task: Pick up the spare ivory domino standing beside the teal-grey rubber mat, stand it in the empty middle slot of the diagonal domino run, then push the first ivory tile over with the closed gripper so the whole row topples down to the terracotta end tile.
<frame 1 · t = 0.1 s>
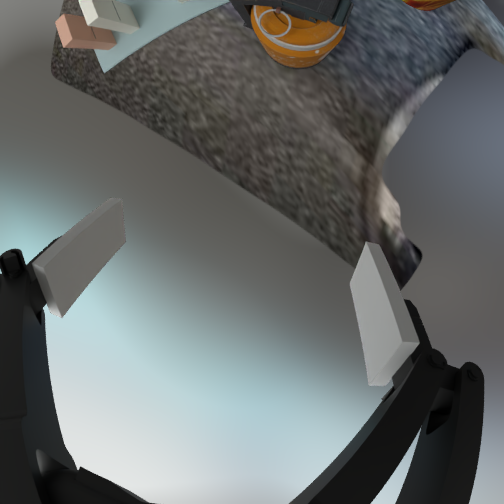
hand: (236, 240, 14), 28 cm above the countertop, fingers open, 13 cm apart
canister: (288, 38, 29), on the countertop
end domino: (107, 35, 29), resting on mat
domino d: (130, 19, 28), resting on mat
mat: (155, 4, 27), on the countertop
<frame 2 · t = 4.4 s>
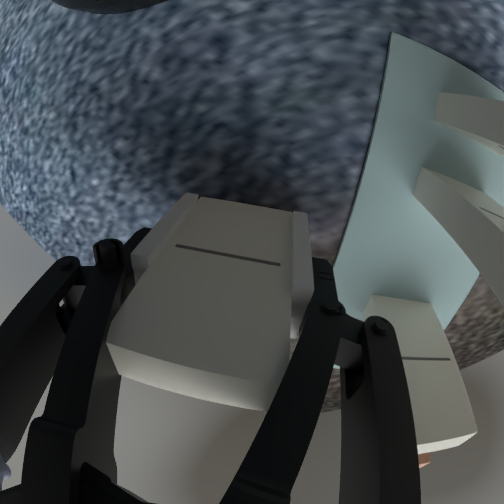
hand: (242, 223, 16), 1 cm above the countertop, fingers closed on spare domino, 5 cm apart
domino d: (398, 308, 18), resting on mat
mat: (423, 254, 16), on the countertop
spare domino: (244, 217, 17), on the countertop, touching gripper
domino a: (471, 123, 11), resting on mat
domino b: (451, 193, 13), resting on mat
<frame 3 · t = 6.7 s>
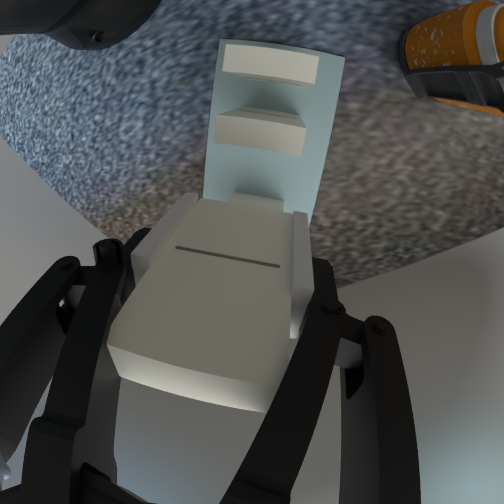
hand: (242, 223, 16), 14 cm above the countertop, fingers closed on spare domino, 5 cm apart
canister: (426, 66, 19), on the countertop
domino d: (257, 203, 30), resting on mat
mat: (263, 162, 28), on the countertop
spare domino: (244, 219, 17), point 13 cm above the countertop, touching gripper
domino a: (277, 74, 23), resting on mat
domino b: (270, 119, 25), resting on mat
when the fingers open (2 cm above the countertop, at t = 9.1 s): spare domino stays where it is, resting on mat.
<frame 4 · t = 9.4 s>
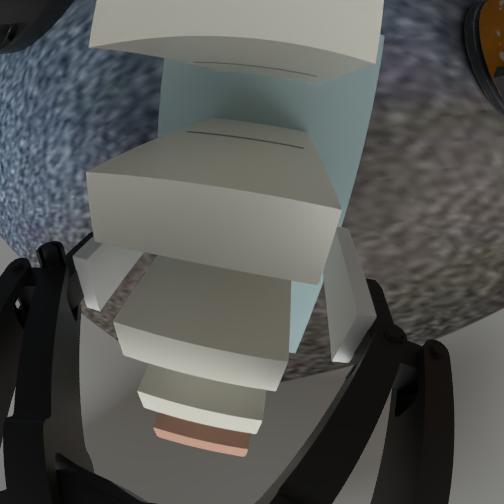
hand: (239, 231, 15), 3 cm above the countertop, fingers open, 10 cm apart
canister: (497, 64, 9), on the countertop
end domino: (232, 316, 22), resting on mat
domino d: (238, 271, 20), resting on mat
mat: (246, 210, 18), on the countertop
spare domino: (246, 212, 17), resting on mat
domino a: (268, 61, 12), resting on mat
domino b: (257, 138, 15), resting on mat
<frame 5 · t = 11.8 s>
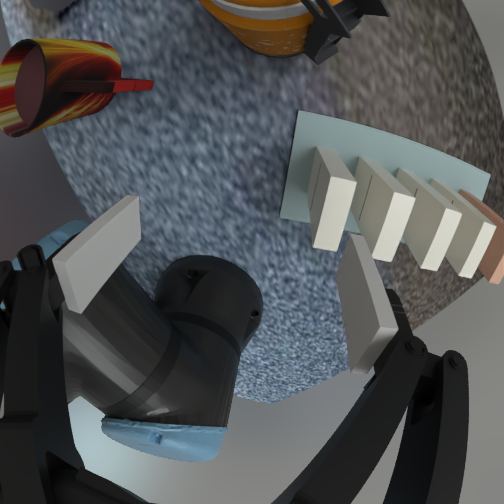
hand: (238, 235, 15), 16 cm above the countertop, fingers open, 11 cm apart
canister: (286, 26, 20), on the countertop
end domino: (458, 210, 27), resting on mat
domino d: (431, 201, 27), resting on mat
mat: (397, 190, 28), on the countertop
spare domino: (399, 191, 27), resting on mat
domino a: (320, 172, 28), resting on mat
mug: (103, 71, 24), on the countertop
domino b: (361, 181, 28), resting on mat
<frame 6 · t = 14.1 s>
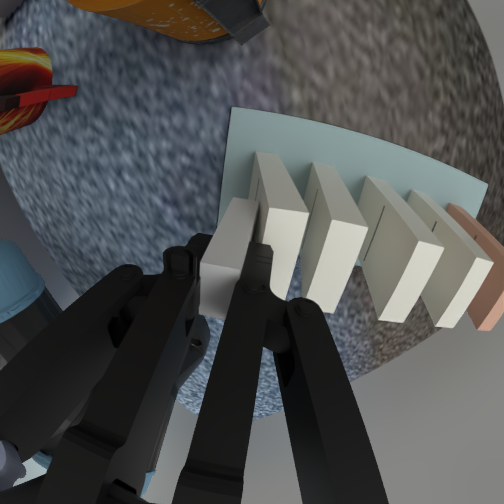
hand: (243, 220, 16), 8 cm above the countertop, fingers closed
canister: (219, 7, 15), on the countertop
end domino: (445, 229, 23), resting on mat
domino d: (409, 218, 23), resting on mat
mat: (365, 205, 23), on the countertop
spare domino: (367, 206, 23), resting on mat
domino a: (261, 183, 23), resting on mat, tilted 9°, touching gripper
mug: (38, 78, 19), on the countertop
domino b: (315, 194, 23), resting on mat
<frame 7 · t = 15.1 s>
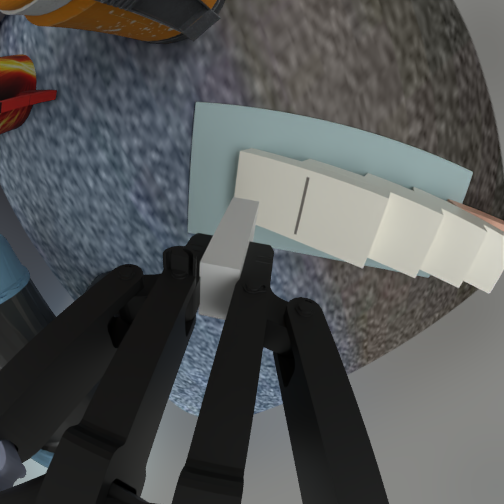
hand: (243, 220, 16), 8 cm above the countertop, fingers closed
canister: (183, 6, 15), on the countertop
end domino: (442, 228, 21), point 1 cm above the countertop, tilted 92°, touching domino d, mat
domino d: (403, 217, 21), point 1 cm above the countertop, tilted 66°, touching end domino, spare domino
mat: (336, 195, 23), on the countertop
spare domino: (357, 205, 22), point 1 cm above the countertop, tilted 66°, touching domino b, domino d, mat
domino a: (241, 181, 22), point 1 cm above the countertop, tilted 67°, touching domino b, mat
mug: (24, 84, 19), on the countertop
domino b: (299, 192, 22), point 1 cm above the countertop, tilted 67°, touching domino a, mat, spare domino
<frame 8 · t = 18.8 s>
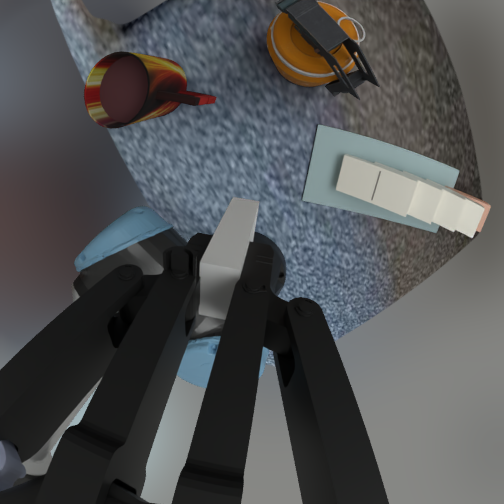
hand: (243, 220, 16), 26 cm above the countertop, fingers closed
canister: (311, 63, 32), on the countertop
end domino: (442, 202, 37), point 1 cm above the countertop, tilted 92°, touching domino d, mat
domino d: (421, 194, 38), point 1 cm above the countertop, tilted 66°, touching end domino, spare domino
mat: (387, 182, 39), on the countertop
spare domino: (398, 187, 38), point 1 cm above the countertop, tilted 66°, touching domino b, domino d, mat
domino a: (341, 171, 38), point 1 cm above the countertop, tilted 67°, touching domino b, mat
mug: (170, 83, 35), on the countertop
domino b: (370, 179, 38), point 1 cm above the countertop, tilted 67°, touching domino a, mat, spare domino
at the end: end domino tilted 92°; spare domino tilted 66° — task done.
